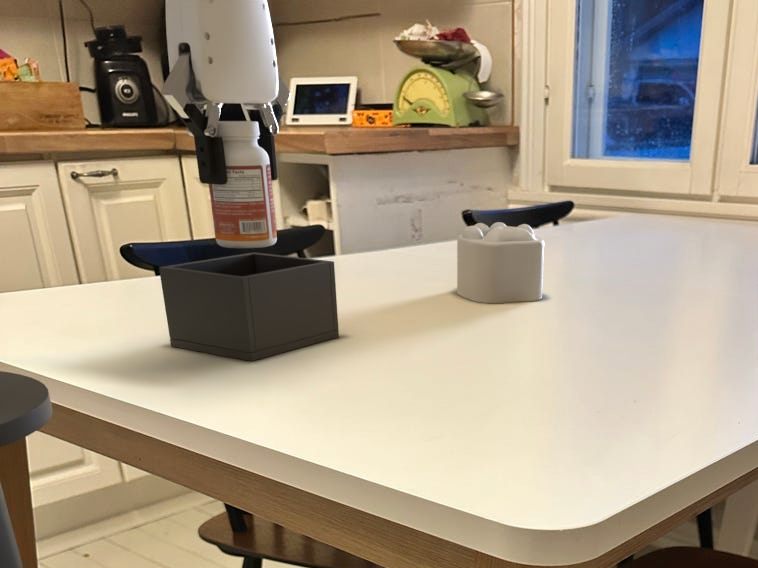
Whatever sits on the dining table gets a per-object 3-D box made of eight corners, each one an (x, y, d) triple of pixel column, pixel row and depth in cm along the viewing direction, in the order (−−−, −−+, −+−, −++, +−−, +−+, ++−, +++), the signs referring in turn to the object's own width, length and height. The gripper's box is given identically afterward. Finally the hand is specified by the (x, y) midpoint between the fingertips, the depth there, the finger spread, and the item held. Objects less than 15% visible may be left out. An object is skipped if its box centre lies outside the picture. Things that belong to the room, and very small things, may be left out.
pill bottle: (239, 240, 98) (226, 120, 92) (289, 243, 96) (278, 121, 90) (203, 246, 93) (187, 120, 87) (254, 250, 91) (241, 122, 85)
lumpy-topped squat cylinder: (479, 304, 119) (480, 231, 114) (443, 288, 129) (443, 220, 125) (551, 299, 122) (554, 228, 118) (510, 284, 133) (512, 218, 128)
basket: (251, 361, 91) (242, 278, 87) (170, 346, 97) (158, 267, 93) (339, 336, 101) (334, 261, 97) (261, 324, 107) (254, 252, 103)
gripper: (253, -29, 90) (272, 175, 99) (107, -52, 77) (144, 185, 86) (311, -34, 87) (325, 178, 96) (169, -58, 74) (201, 189, 83)
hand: (239, 179), depth 91 cm, fingers closed on pill bottle, 6 cm apart
